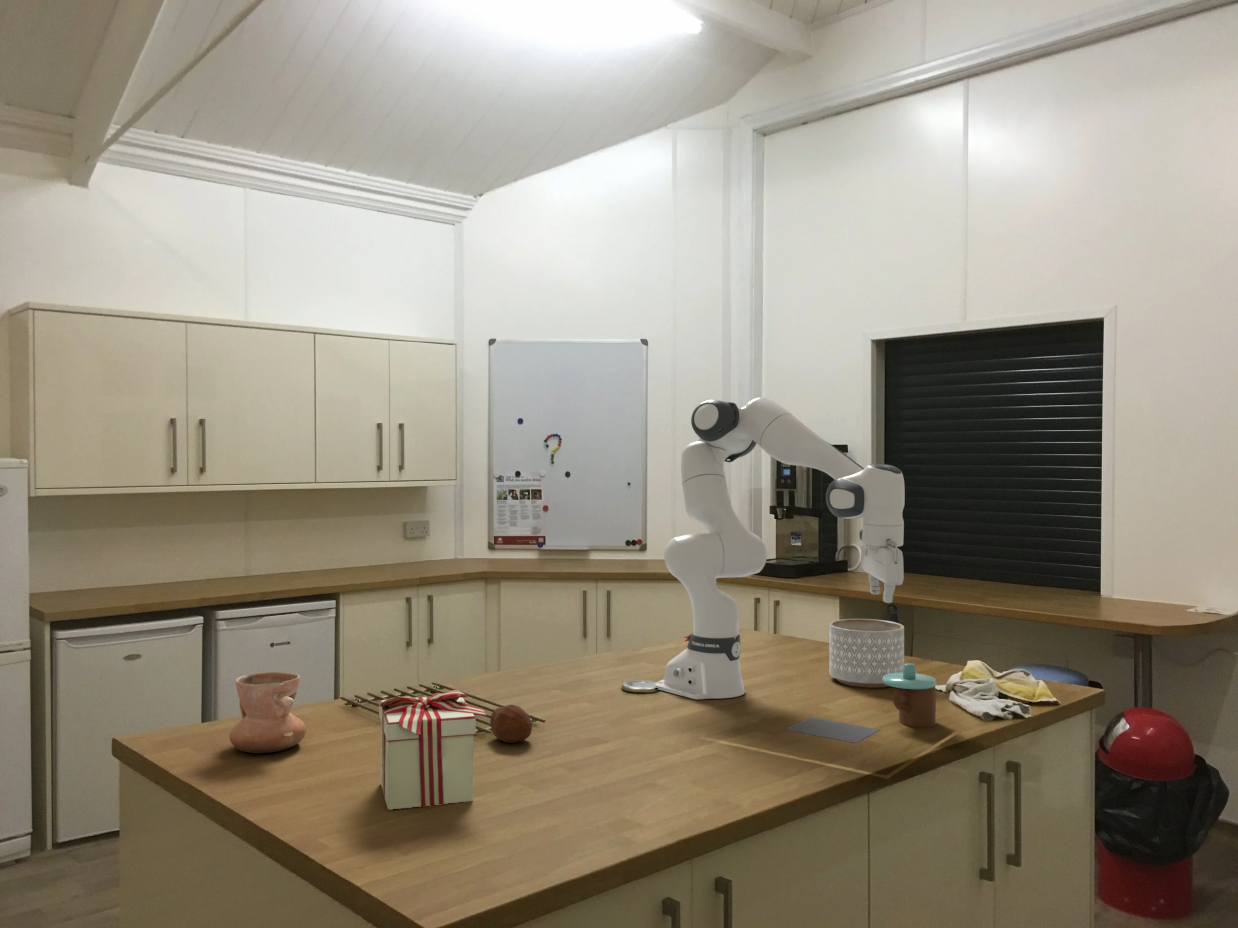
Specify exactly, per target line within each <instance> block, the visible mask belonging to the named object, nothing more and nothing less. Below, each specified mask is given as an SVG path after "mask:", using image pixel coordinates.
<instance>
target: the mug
mask: <svg viewBox="0 0 1238 928" xmlns="http://www.w3.org/2000/svg"><path fill="white" fill-rule="evenodd" d="M936 692H937V691H936V686H935V687H933V688H928V689H903V688H897V687H896V689H895V690H894V692H893V695H892V701H893V706H894V707H895V709H897V711H898V721H899V723H900V724H902V725H903V726H905V727H906V726H907V727H911V728H931V727H934V726H935V725H936V717H937V716H936V711H937V708H936V705H937V698H936V697H937V696H936V695H937V694H936Z"/></svg>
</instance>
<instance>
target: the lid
mask: <svg viewBox="0 0 1238 928" xmlns="http://www.w3.org/2000/svg"><path fill="white" fill-rule="evenodd" d="M916 668H917V667H916V663H910V662H904V664H903V673H890V674H886V675H884V676H883V683H884V684H886V685H889V686H888V687H893V688H896V689H897V688H903V689H928V688H933V687H935V688H936V686H937V678H936V677H933V676H930V675H927V674H923V673H917V671H916V670H917V669H916Z"/></svg>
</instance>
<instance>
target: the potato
mask: <svg viewBox="0 0 1238 928" xmlns="http://www.w3.org/2000/svg"><path fill="white" fill-rule="evenodd" d="M489 723H490V728H491V731H492V734H493V735H494V737H495V738H497V739H498V740H500V741H503V742H505V743H508V744H509V743H510V744H515V743H520V742H523V741H525V740H526V739H528V738H529V737H530V736H531V734H532V730H533V729H532V728H533V724H532V718H530V716H529V714H528V713H527V712H526V710H525V709H523V708H522V707H520V706H519V705H516V704H506V705H505V706H500V707H496V708H495V709H494V710H493V711H492V712H491V715H490V719H489Z"/></svg>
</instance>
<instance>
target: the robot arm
mask: <svg viewBox="0 0 1238 928" xmlns="http://www.w3.org/2000/svg"><path fill="white" fill-rule="evenodd" d="M690 422H691V427H692V430H693V431H694V433H695V435H697V436H698V438H699V439H698V440H695V441H694V442H691V443H689V444H687V445H686V446H685V447H684V448H683V450H682V452H681V458H680V473H681V485H682V493H683V499H684V504H685V511H686V514H687V515H688V517H689V518H690V519H691V520H692V521H693V522H695V523H697V524H699V525H700V526H702V527H704V528H705V529H706V530H708V532H709V533H708V532H707V533H688V534H687V533H686V534H683V535H679V536H675V537H672V538H671V539H670V540H669V541H668V542H667V545H666V546H665V548H664V554H663V555H664V557H663V558H664V559H663V560H664V564H665V566H666V567H665V568H666V569H667V570H668V572H669V573H670V574H671V575H672V576H673V577H675V578H676V579H677V580H678V581H679V582H680V583H681V584H682V585H683V587H684V588H685V590H686V591H687V594H688V596H689V598H690V602H691V610H692V623H693V624H692V628H693V629H692V630H693V631H692V633H690V634H689V635H688V636H684V637H683V639H684V640H683V642H685V643H686V642H687V645H686V648H685V649H683V651H681V652H680V653H679V654H677V655H676V656H675V657H673V658H672V659H670V660H669V661H668V663H667V664H666V665H665V669H664V676H663V679H660V680H659V681H656V683H654V684H655V686H656V687H657V688H658V689H657V690H659V691H662V692H663V691H664V692H667V693H669V694H670V693H671V694H674V695H678V696H682V697H684V698H685V697H686V698H689V699H693V700H705V699H707V700H708V699H729V698H730V699H731V698H736V697H741V696H742V695H745V693H746V690H745V687H744V682H743V678H742V673H741V672H742V671H741V663H740V655H741V634H739V605H738V603H737V601H736V599H734V597H733V596H731V595H729V594H728V593H726V592H724V591H723V590H720V589H719V588H718V585H717V579H719V578H720V579H721V578H722V579H723V578H727V579H728V578H743V577H747V576H752V575H755V574H758V573H760V572H761V571H762V570H763V569H764V567H765V566H766V562H767V556H768V551H767V547H766V545H765V542H764V541H763V540H762V538H761V537H760V536H759V535H757V534H755V533H754V532H753V531H750V530H749V529H748V528H747V527H746V526H745V525H744V523H742V521H740V519H739V517H738V515H736V512H735V511H734V509H733V506H732V502H731V499H730V496H729V491H728V490H729V489H728V485H727V480H726V479H727V478H726V473H725V469H724V468H725V467H724V464H725V463H726V462H727V463H732V462H734V461H735V460H737V459H738V458H742V457H744V456H746V455H748V454H750V453H751V451H753V449H755V447H756V445H758V447H760V448H761V449H762V450H763V451H764V452H766V454H768V455H769V456H770V457H771V458H773V459H775V460H776V461H777V462H780V463H781V464H783V465H790V466H797V467H805V468H811V469H816V470H818V471H821V472H823V473H825V474H827V476H829V477H831V478H832V479H833V480H832V481H831V482H830V483H829V485H828V487H827V489H826V493H825V502H826V506H827V508H828V510H829V511H830V512H831V514H832V515H833V516H835V517H837V518H840V519H846V520H847V519H848V520H849V519H862V529H860V530H859V531H858V539H859V540H860V562H861V567H862V571H864V572H866V573H867V574H868V581H869V585H870V588H869V589H870V594H872V595H877V596H879V595H880V593H881V591H880V590H881V588H880V581H881V582H882V583H883V587H884V588H883V589H884V590H883V593H882V601H883V602H884V603H886V604H891V603H893V601H894V600H893V599H894V592H895V591H896V586H901V585H903V583H904V579H905V577H904V576H905V573H904V571H905V570H904V556H903V555H904V554H903V551H902V550H901V549H900V548H898V547H903V545H904V536H905V534H904V533H905V532H904V530H905V529H904V528H905V523H904V518H903V517H904V516H903V511H904V508H905V496H906V495H905V493H906V492H905V491H906V490H905V489H906V488H905V480H904V474H903V472H902V470H901V469H899V468H898V467H897V466H894V465H891V464H887V463H879V462H873V463H869V464H868V465H866V466H865V468H864V467H863V466H862V465H860V464H859V463H857V462H856V461H854V459H852V458H851V457H849V456H848V455H847V454H845V453H844V452H843V451H842V450H839V449H838V448H837V447H835V445H832V444H831V443H830V442H828V441H826V440H825V439H824V438H822V437H821V436H820V435H818V434H817V433H816V432H814V431H812V429H810V428H809V427H808V426H807V425H805V423H803V422H801V420H799V419H798V418H797V417H796V416H795V415H793V414H792V413H791V412H790V411H789V410H787V409H786V408H784V407H783V406H781V405H780V404H779V403H777V402H775V401H774V400H771V399H769V398H767V397H763V396H762V397H761V396H760V397H755V398H753V399H752V400H750V401H748V402H747V403H746V404H745V405H744V406H743V407H739V406H738V405H737V403H735V402H733V401H732V402H730V401H724V400H718V399H707V400H704V401H702V402H700V403H699V404H697V406H696V407H695V408H694V409H693V411H692V414H691V421H690ZM655 686H654V687H655Z"/></svg>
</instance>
